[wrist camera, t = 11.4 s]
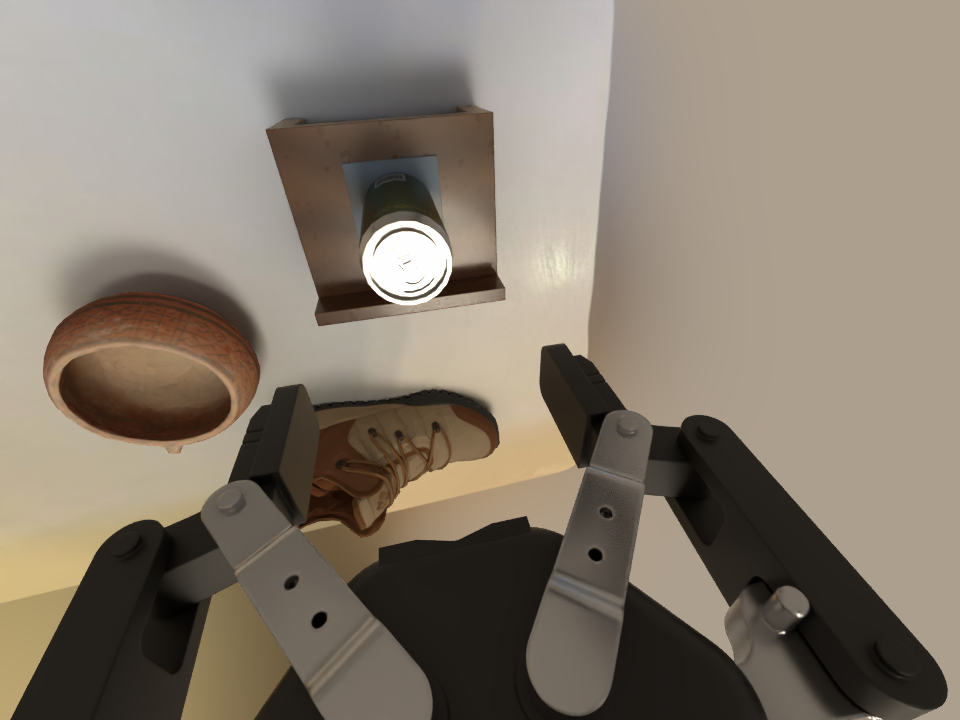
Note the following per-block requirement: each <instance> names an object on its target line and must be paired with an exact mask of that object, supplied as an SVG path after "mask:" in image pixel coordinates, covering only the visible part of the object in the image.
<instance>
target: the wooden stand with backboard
mask: <svg viewBox="0 0 960 720" xmlns="http://www.w3.org/2000/svg"><path fill="white" fill-rule="evenodd" d="M457 112H458V113H447V114H434V115H421V116H407V117H394V118H381V119H367V120H354V121H341V122H328V123H314V124H306V123H305V119H304V118H296V119H284V120H283V121H281V122H279V123H277V124H275V125H273V126H271V127H270V128H268V129H266V133H267V136H268V139H269V142H270V145H271V149H272V152H273V155H274V158H275V161H276V164H277V167H278V171H279V174H280V177H281V180H282V183H283V186H284V189H285V193H286V196H287V199H288V202H289V205H290V208H291V212H292V215H293V218H294V221H295V224H296V227H297V230H298V234H299V237H300V240H301V243H302V246H303V249H304V252H305V256H306V259H307V262H308V265H309V268H310V271H311V274H312V278H313V281H314V284H315V287H316V290H317V293H318V296H319V299H318V303H317V307H316V311H315V317H316V320H317V323H318V326H324V325H331V324H338V323H345V322H352V321H359V320H366V319H373V318H380V317H388V316H395V315H402V314H409V313H416V312H423V311H430V310H437V309H444V308H451V307H458V306H465V305H472V304H479V303H486V302H493V301H501V300H505V287H504V285H503V284H502V282H501V280H500V278H499V277H498V275H497V254H496V212H495V171H494V129H493V112H491V111H488V110H485V109H482V108H480V107H477V106H460V107H457ZM390 173H405V174H408V175H410V176H413V177H415V178H417V179H418V180H419V181H420V182H421V183H423V184H424V185H425V187H426V188H427V190H428V191H429V193H430V194H431V196H432V199H433V201H434V204H435V206H436V208H437V211H438V213H439V215H440V218H441V220H442V222H443V225H444V227H445V229H446V232H447V234H448V237H449V239H450V243H451V246H452V250H453V265H452V269H451V274H450V277H449V279H448V282H447V284H446V285H445V287H444V288H443V289H442V290H441V291H440V293H439V294H438V295H436V296H434V297H433V298H431V299H430V300H428V301H426V302H422V303H419V304H416V305H401V304H397V303H394V302H390V301H388V300H386V299H385V298H383V297H381V296H380V295H378V294H377V293H376V292H375V291H374V290H373V288H372V287H371V286H370V285H369V284H368V281H367V280H366V278H365V276H364V274H363V271H362V269H361V267H360V261H359V243H360V234H361V224H362V215H363V206H364V200H365V196H366V192H367V190H368V189H369V187H370V186H371V185H372V183H373V182H374V181H375V180H377V179H378V178H380V177H381V176H383V175H386V174H390Z"/></svg>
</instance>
